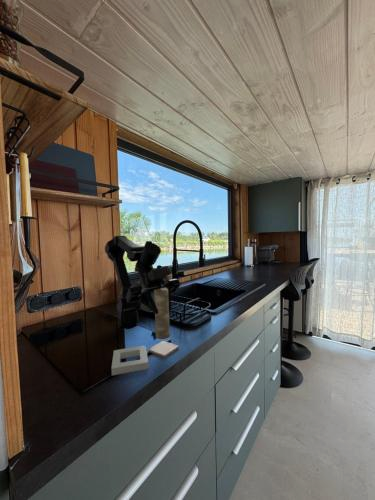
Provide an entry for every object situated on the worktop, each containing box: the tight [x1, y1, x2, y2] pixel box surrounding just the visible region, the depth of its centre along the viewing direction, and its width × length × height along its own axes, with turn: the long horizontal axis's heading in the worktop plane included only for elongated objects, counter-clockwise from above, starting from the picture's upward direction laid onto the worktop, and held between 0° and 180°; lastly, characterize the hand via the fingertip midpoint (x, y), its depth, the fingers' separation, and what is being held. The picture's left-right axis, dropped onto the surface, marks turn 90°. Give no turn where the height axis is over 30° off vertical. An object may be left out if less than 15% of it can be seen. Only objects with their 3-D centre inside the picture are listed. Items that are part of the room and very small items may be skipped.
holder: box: [110, 345, 149, 376], centre depth 67 cm, size 10×10×2 cm
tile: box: [148, 340, 179, 359], centre depth 74 cm, size 7×7×1 cm
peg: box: [154, 288, 171, 340], centre depth 73 cm, size 5×5×16 cm
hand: (163, 311), depth 72 cm, fingers closed on peg, 5 cm apart
